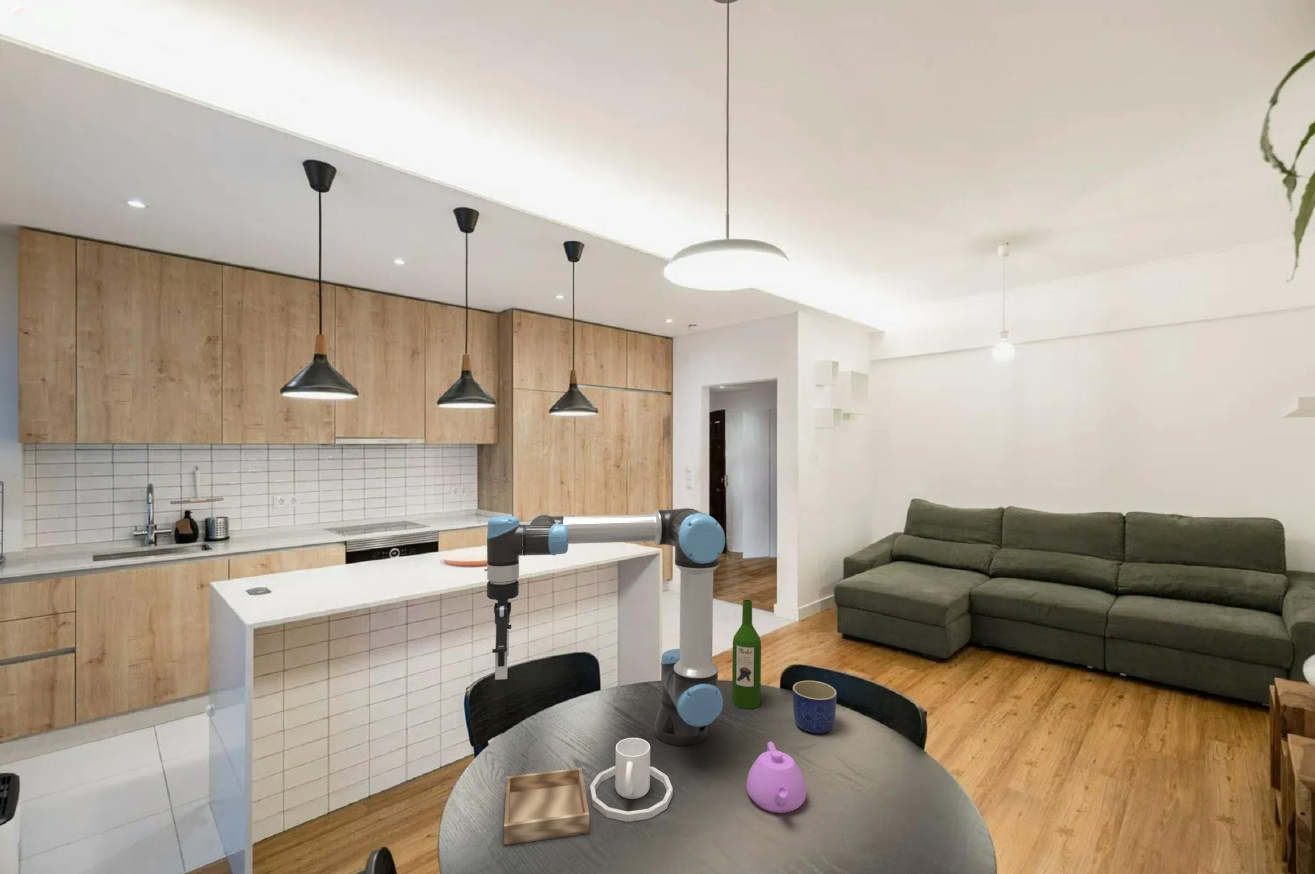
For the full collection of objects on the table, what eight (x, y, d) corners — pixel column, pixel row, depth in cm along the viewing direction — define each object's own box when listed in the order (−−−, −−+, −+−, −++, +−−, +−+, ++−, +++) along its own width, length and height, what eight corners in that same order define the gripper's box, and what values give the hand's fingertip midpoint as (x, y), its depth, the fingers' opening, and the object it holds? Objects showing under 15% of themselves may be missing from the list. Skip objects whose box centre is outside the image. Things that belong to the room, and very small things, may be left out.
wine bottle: (731, 707, 181) (732, 603, 181) (732, 695, 190) (733, 595, 189) (760, 710, 180) (761, 605, 179) (760, 697, 188) (761, 597, 188)
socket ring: (661, 766, 149) (661, 760, 149) (680, 814, 131) (680, 807, 131) (586, 775, 145) (586, 769, 145) (596, 826, 126) (596, 819, 126)
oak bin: (581, 783, 141) (581, 767, 141) (589, 833, 124) (589, 814, 124) (506, 793, 138) (506, 776, 137) (504, 845, 120) (504, 826, 120)
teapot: (751, 827, 127) (752, 779, 127) (742, 773, 147) (743, 731, 147) (815, 830, 126) (816, 781, 126) (797, 775, 146) (798, 733, 146)
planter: (801, 712, 179) (802, 676, 179) (841, 724, 172) (842, 687, 172) (785, 728, 169) (785, 691, 169) (827, 742, 162) (827, 703, 161)
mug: (644, 812, 131) (645, 766, 131) (608, 808, 132) (609, 763, 132) (651, 780, 143) (652, 738, 143) (618, 777, 144) (619, 736, 144)
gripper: (489, 568, 153) (489, 649, 153) (483, 595, 129) (482, 690, 129) (519, 567, 155) (518, 647, 155) (518, 593, 130) (517, 687, 131)
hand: (502, 667), depth 142 cm, fingers open, 13 cm apart
